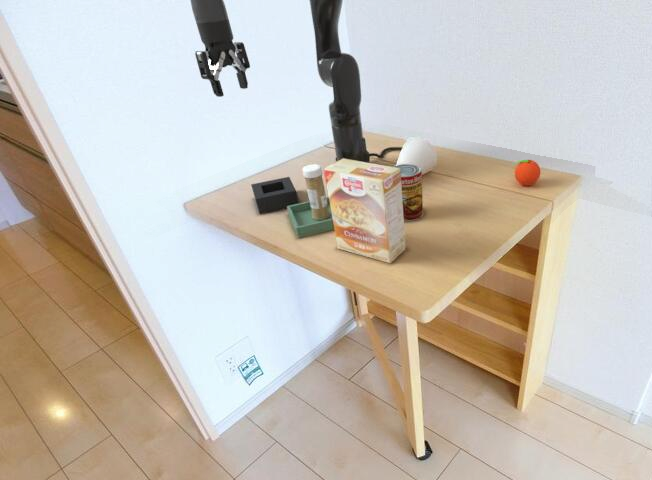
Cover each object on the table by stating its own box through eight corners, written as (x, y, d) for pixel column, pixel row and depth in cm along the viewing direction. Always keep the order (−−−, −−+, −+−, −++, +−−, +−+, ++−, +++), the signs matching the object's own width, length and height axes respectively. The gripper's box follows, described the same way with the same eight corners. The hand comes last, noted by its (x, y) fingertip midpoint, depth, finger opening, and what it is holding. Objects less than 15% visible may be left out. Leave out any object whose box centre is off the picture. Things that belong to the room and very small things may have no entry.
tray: (344, 203, 122) (342, 193, 120) (358, 223, 112) (357, 213, 110) (288, 215, 118) (286, 206, 116) (298, 238, 108) (295, 228, 106)
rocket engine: (384, 163, 117) (418, 129, 126) (365, 181, 127) (397, 148, 136) (413, 195, 120) (444, 159, 129) (392, 210, 130) (422, 176, 139)
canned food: (401, 224, 110) (398, 178, 103) (387, 212, 116) (383, 168, 108) (428, 216, 113) (427, 171, 105) (413, 204, 118) (411, 161, 111)
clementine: (508, 188, 123) (510, 163, 118) (511, 178, 128) (513, 154, 123) (537, 190, 120) (541, 165, 116) (539, 180, 125) (543, 156, 121)
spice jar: (332, 217, 114) (324, 167, 106) (317, 222, 112) (306, 172, 104) (325, 211, 117) (316, 162, 109) (309, 216, 115) (299, 166, 107)
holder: (292, 191, 131) (289, 176, 128) (299, 205, 123) (296, 190, 120) (255, 198, 128) (251, 184, 125) (259, 214, 120) (255, 199, 117)
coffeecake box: (336, 249, 103) (322, 168, 91) (354, 235, 107) (342, 157, 95) (390, 264, 96) (382, 180, 84) (406, 249, 101) (401, 166, 89)
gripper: (199, 22, 98) (222, 100, 108) (244, 14, 107) (262, 86, 117) (176, 23, 101) (201, 98, 111) (223, 15, 110) (241, 85, 120)
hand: (232, 92), depth 114 cm, fingers open, 8 cm apart
